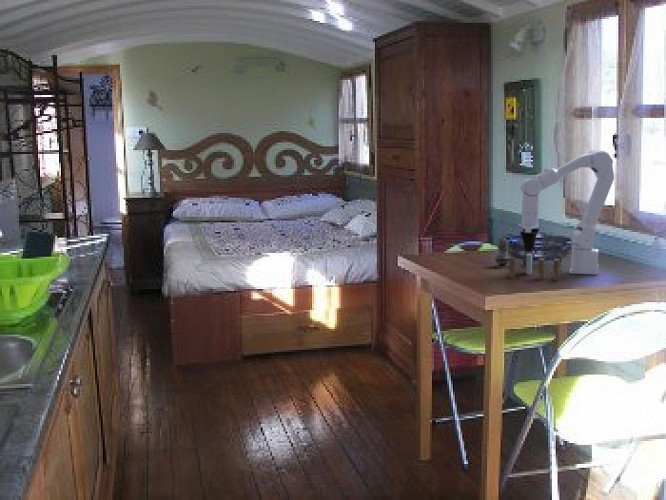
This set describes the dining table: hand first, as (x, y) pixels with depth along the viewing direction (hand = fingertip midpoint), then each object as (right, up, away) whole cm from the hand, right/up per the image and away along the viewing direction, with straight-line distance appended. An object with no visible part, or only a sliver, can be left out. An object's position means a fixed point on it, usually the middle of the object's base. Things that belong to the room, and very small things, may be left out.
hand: (529, 249), depth 278 cm
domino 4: (+7, -10, -10) cm, 16 cm away
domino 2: (0, -9, +1) cm, 9 cm away
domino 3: (+2, -10, -9) cm, 14 cm away
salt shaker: (-7, -7, +15) cm, 18 cm away
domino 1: (-8, -10, -5) cm, 13 cm away
